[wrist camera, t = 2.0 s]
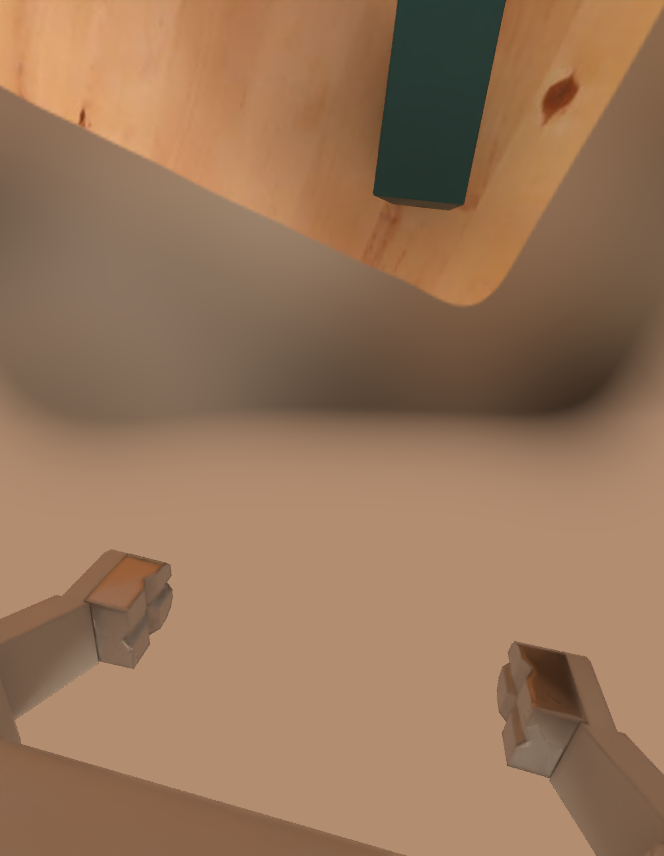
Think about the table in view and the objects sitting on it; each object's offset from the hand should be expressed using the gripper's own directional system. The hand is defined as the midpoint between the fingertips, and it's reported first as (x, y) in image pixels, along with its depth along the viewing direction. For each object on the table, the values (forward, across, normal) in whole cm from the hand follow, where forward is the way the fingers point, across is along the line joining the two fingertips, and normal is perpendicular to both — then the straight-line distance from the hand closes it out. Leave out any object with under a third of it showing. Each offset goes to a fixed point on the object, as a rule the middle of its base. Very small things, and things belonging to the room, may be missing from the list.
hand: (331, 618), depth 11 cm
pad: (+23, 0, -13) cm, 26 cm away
